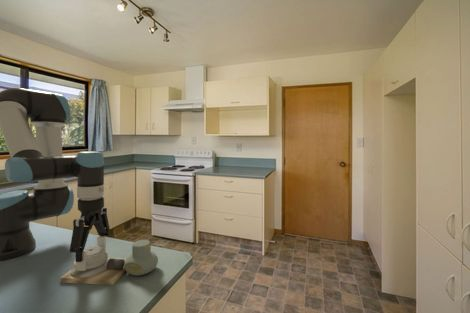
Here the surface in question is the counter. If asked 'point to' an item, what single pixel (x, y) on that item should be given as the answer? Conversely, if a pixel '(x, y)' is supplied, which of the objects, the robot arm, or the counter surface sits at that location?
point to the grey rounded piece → (141, 259)
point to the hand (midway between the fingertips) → (92, 261)
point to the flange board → (97, 273)
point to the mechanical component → (94, 257)
